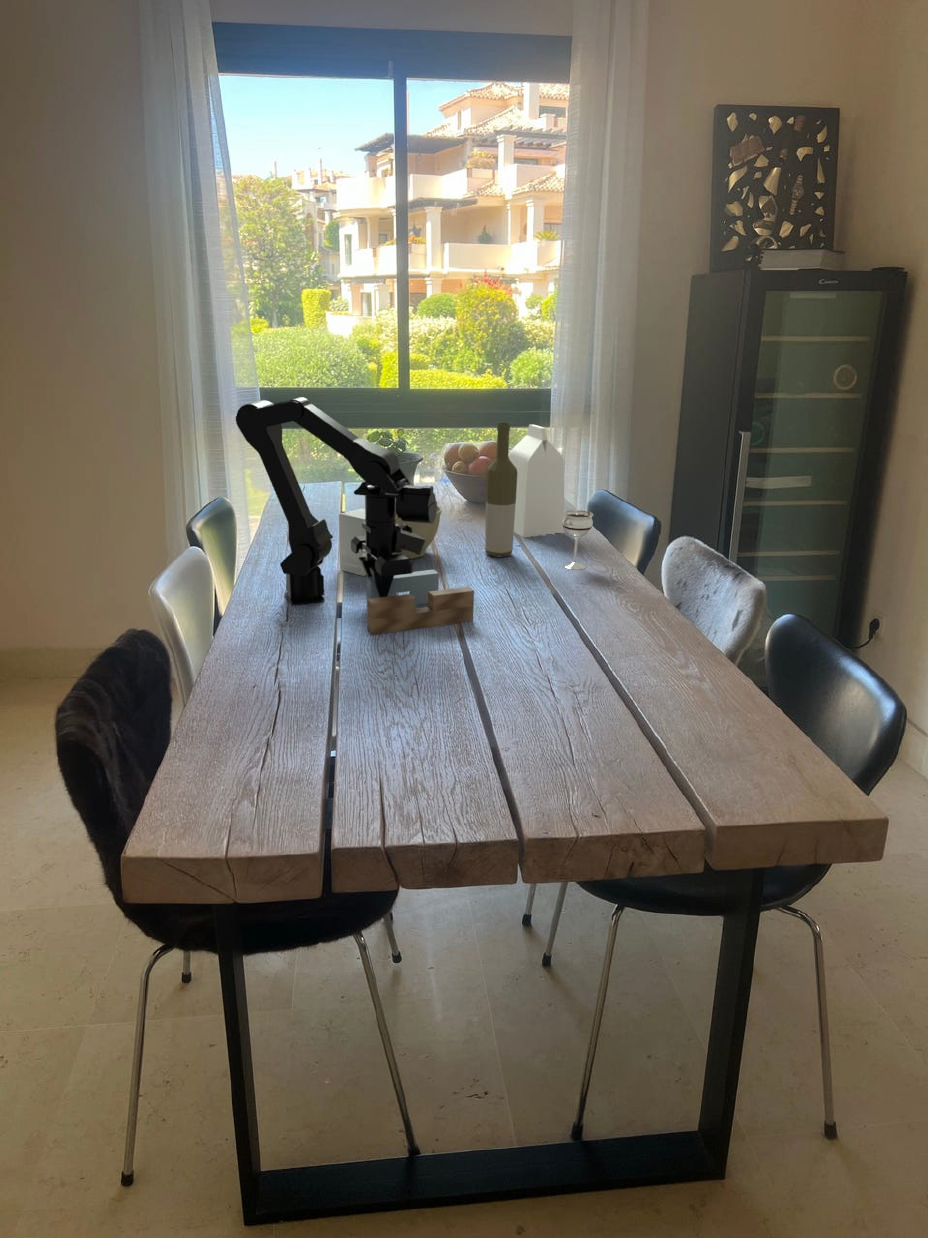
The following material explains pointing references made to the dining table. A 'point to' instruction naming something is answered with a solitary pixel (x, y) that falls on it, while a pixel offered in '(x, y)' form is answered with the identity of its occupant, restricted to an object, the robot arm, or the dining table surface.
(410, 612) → the walnut slotted plate
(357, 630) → the dining table surface
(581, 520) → the wineglass
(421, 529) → the planter bowl
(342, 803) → the dining table surface
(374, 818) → the dining table surface
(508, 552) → the bottle
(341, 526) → the supplement box
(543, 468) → the milk
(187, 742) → the dining table surface
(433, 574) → the slate-blue slotted crosspiece
